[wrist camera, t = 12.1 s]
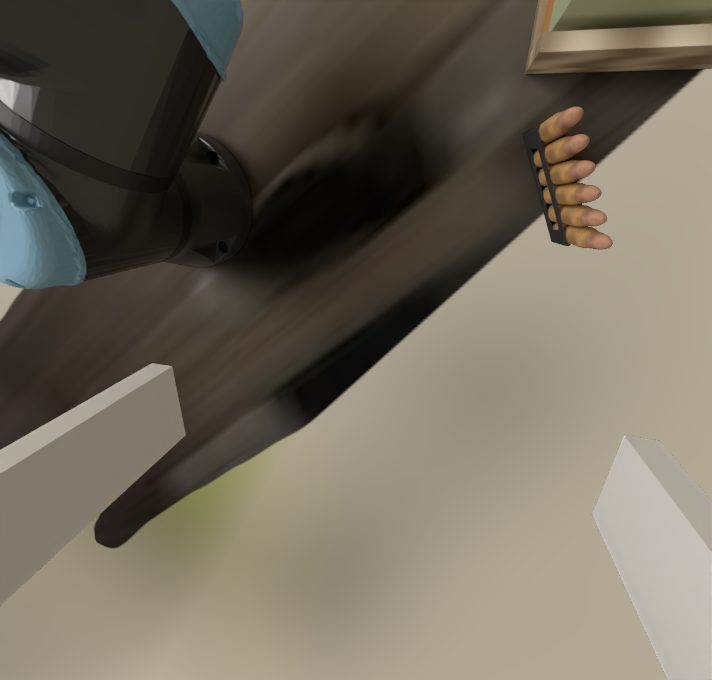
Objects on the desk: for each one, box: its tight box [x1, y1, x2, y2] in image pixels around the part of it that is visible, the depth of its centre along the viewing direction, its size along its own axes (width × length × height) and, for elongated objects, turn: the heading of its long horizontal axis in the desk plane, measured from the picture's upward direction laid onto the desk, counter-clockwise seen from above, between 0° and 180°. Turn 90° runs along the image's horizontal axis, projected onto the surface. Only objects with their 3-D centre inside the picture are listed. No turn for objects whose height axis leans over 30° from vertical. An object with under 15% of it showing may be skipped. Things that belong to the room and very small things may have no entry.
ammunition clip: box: [523, 107, 613, 249], centre depth 28 cm, size 11×2×12 cm, turn 25°
